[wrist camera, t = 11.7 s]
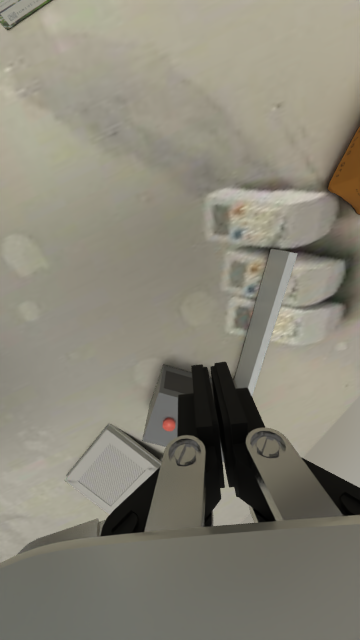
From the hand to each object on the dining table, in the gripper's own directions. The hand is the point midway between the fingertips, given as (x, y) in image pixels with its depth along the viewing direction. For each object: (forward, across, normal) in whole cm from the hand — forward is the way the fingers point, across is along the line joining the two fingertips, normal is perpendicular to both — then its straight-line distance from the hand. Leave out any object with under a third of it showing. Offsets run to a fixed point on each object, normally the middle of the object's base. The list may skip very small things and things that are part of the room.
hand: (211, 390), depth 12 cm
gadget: (+22, +13, +33) cm, 42 cm away
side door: (+20, -8, +5) cm, 23 cm away
